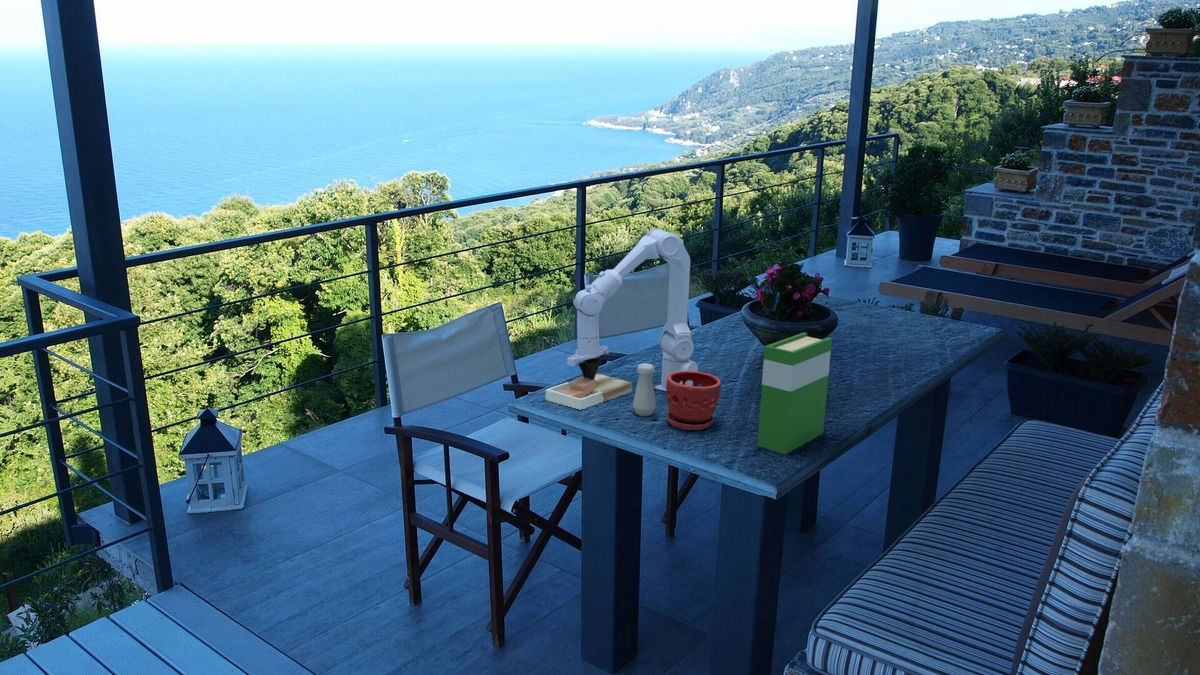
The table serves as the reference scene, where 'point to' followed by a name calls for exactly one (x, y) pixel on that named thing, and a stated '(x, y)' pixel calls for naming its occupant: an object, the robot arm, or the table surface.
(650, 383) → the salt shaker
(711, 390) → the plant pot
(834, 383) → the table surface
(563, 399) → the box
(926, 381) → the table surface
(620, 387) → the board
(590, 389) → the tile rear
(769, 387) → the hardback book
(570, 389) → the tile front
